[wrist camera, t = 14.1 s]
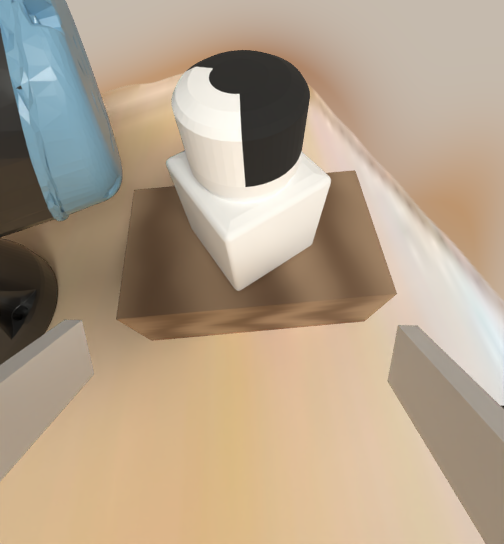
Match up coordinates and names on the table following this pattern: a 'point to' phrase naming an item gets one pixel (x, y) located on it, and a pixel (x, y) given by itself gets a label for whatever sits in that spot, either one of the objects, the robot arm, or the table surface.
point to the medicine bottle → (246, 162)
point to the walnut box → (263, 292)
